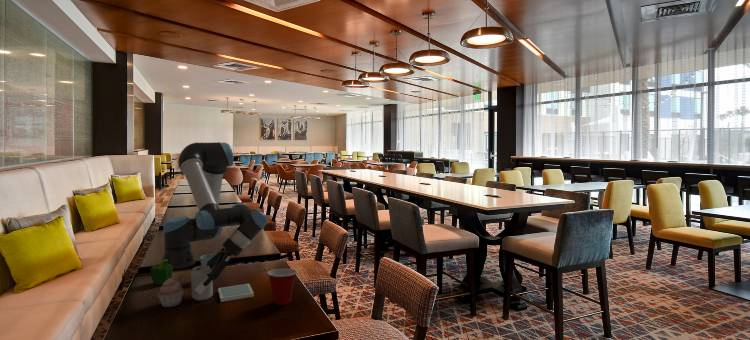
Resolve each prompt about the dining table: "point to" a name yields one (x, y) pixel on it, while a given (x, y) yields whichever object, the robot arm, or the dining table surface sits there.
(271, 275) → the plastic cup
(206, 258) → the cup
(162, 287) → the cupcake
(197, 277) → the can
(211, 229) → the robot arm
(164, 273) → the bell pepper
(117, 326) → the dining table surface
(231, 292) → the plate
